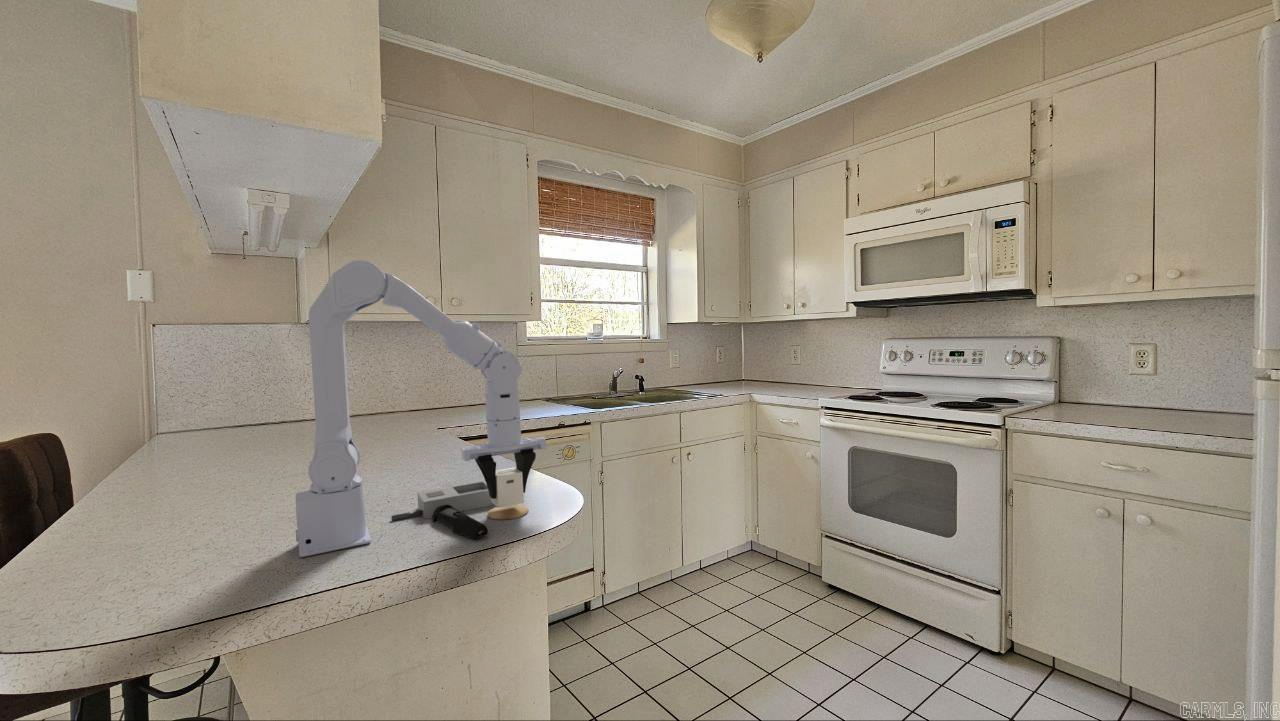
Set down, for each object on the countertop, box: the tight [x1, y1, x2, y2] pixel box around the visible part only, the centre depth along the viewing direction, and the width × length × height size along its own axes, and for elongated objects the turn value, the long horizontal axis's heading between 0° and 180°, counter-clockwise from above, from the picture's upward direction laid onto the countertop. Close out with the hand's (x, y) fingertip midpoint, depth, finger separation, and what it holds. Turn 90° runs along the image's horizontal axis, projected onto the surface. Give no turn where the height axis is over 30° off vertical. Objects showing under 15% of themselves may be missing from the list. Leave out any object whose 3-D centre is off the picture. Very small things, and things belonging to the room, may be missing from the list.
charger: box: [491, 466, 525, 508], centre depth 96 cm, size 4×5×6 cm
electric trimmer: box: [431, 505, 489, 539], centre depth 89 cm, size 4×16×3 cm, turn 44°
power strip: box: [390, 480, 496, 522], centre depth 101 cm, size 21×7×4 cm, turn 121°
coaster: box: [487, 504, 529, 521], centre depth 96 cm, size 7×7×1 cm
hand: (507, 494), depth 96 cm, fingers closed on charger, 4 cm apart
